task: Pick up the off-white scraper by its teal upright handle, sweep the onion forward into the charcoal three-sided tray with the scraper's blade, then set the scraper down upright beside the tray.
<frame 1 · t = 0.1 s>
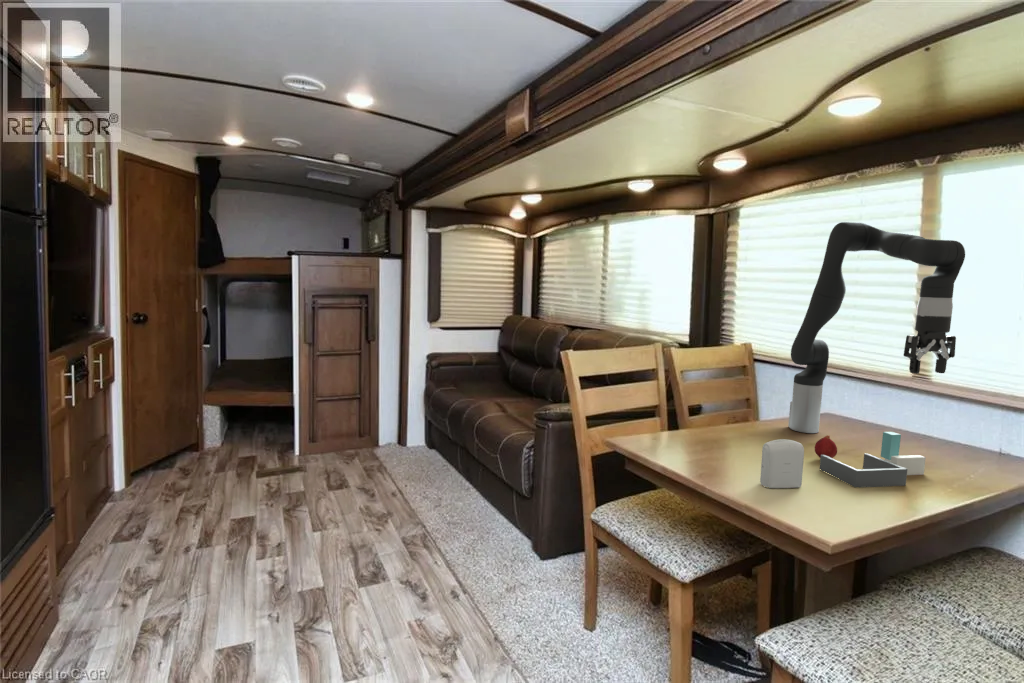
hand: (927, 373, 145), 29 cm above the table, tool pointing down, fingers open, 8 cm apart
onion: (824, 461, 158), on the table
tray: (859, 476, 145), on the table
photo printer: (780, 486, 137), on the table
scraper: (888, 466, 154), on the table
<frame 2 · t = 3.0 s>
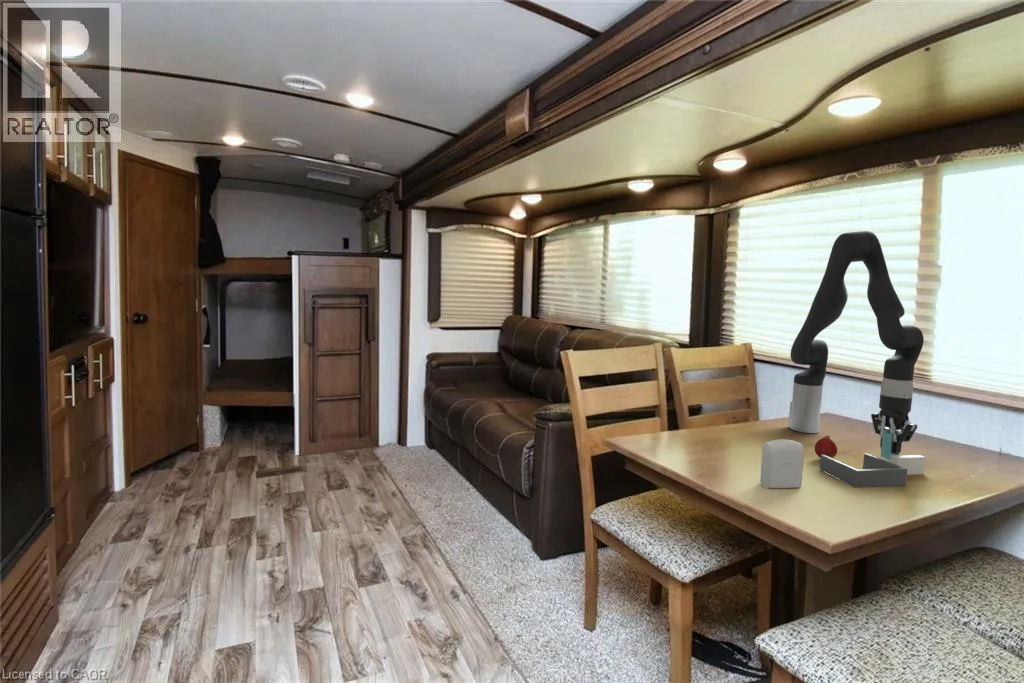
hand: (890, 451, 154), 4 cm above the table, tool pointing down, fingers closed on scraper, 3 cm apart
scraper: (888, 466, 154), on the table, touching gripper
everything else where it was.
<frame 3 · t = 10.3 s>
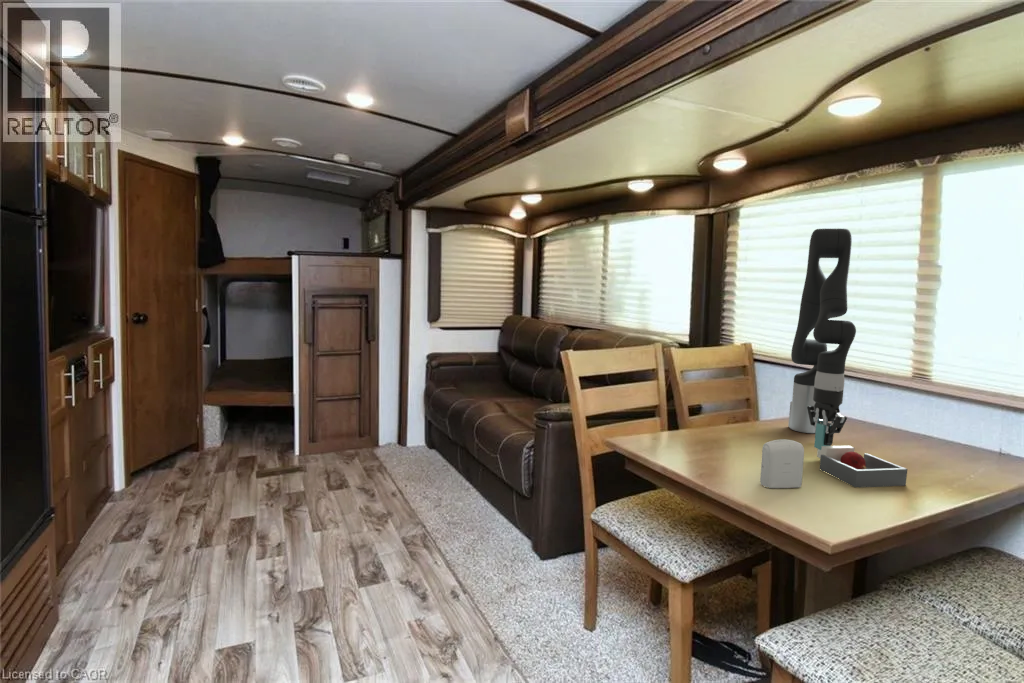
hand: (823, 443, 158), 5 cm above the table, tool pointing down, fingers closed on scraper, 3 cm apart
onion: (842, 457, 152), point 3 cm above the table, touching scraper
scraper: (821, 456, 159), point 1 cm above the table, touching gripper, onion
everything else where it was.
when the fingers open (6 cm above the table, at t = 17.7 s): scraper drops 2 cm, on the table.
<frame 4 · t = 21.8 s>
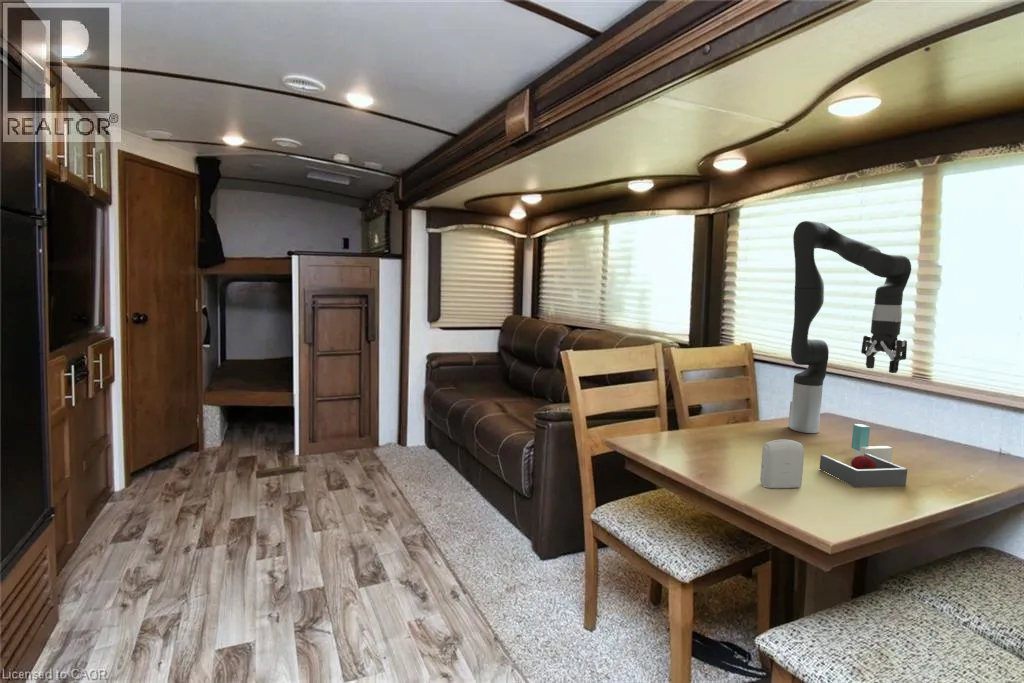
hand: (881, 370, 167), 26 cm above the table, tool pointing down, fingers open, 8 cm apart
onion: (852, 461, 149), point 3 cm above the table
scraper: (858, 457, 162), on the table
everything else where it was.
at the end: onion inside the target area on the tray (4.5 cm from its centre), point 2.9 cm above the tray's base; scraper inside the target area (0.5 cm from its centre), on the table; scraper tilted 0° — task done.
